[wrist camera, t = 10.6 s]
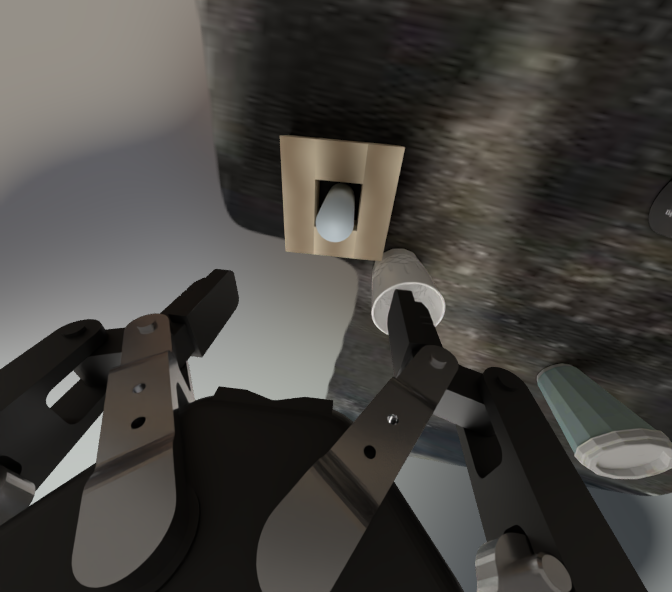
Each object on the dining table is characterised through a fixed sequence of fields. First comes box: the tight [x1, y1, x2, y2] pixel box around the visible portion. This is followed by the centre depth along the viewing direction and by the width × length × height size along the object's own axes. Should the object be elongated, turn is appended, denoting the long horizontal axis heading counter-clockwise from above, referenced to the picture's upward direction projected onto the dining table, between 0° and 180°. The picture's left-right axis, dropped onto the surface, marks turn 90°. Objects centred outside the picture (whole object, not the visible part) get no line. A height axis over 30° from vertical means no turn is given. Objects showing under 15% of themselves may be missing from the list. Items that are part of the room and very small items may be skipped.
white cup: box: [372, 249, 445, 335], centre depth 30 cm, size 8×8×10 cm
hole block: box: [280, 135, 405, 261], centre depth 28 cm, size 12×12×4 cm
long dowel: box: [316, 183, 355, 242], centre depth 25 cm, size 3×3×10 cm
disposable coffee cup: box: [537, 363, 672, 479], centre depth 38 cm, size 11×11×15 cm
